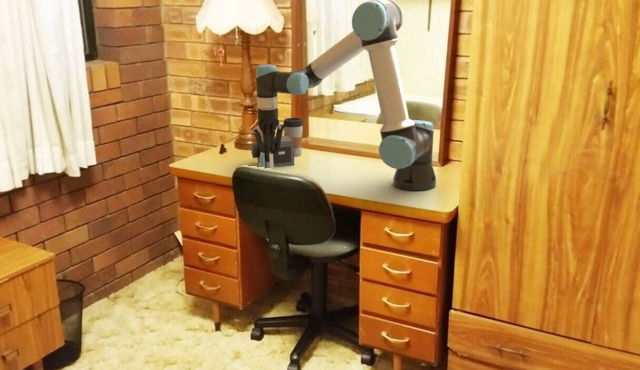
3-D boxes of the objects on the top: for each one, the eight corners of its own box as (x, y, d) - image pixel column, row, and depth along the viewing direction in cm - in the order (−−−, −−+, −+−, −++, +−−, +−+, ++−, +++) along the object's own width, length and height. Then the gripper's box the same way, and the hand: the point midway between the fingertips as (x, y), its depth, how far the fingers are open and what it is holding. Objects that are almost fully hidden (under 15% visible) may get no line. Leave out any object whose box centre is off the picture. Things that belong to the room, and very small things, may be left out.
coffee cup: (281, 153, 265) (280, 118, 260) (299, 151, 268) (298, 116, 264) (288, 158, 258) (287, 122, 253) (306, 155, 261) (306, 120, 256)
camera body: (294, 165, 248) (293, 138, 245) (255, 169, 244) (254, 142, 240) (288, 159, 257) (287, 133, 253) (250, 163, 252) (249, 136, 249)
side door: (261, 166, 244) (260, 148, 242) (265, 166, 244) (264, 148, 242) (259, 175, 233) (258, 157, 230) (263, 175, 233) (262, 157, 230)
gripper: (278, 104, 234) (280, 164, 242) (247, 108, 228) (250, 170, 235) (288, 107, 228) (290, 169, 236) (256, 111, 222) (259, 175, 229)
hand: (270, 169), depth 236 cm, fingers closed
